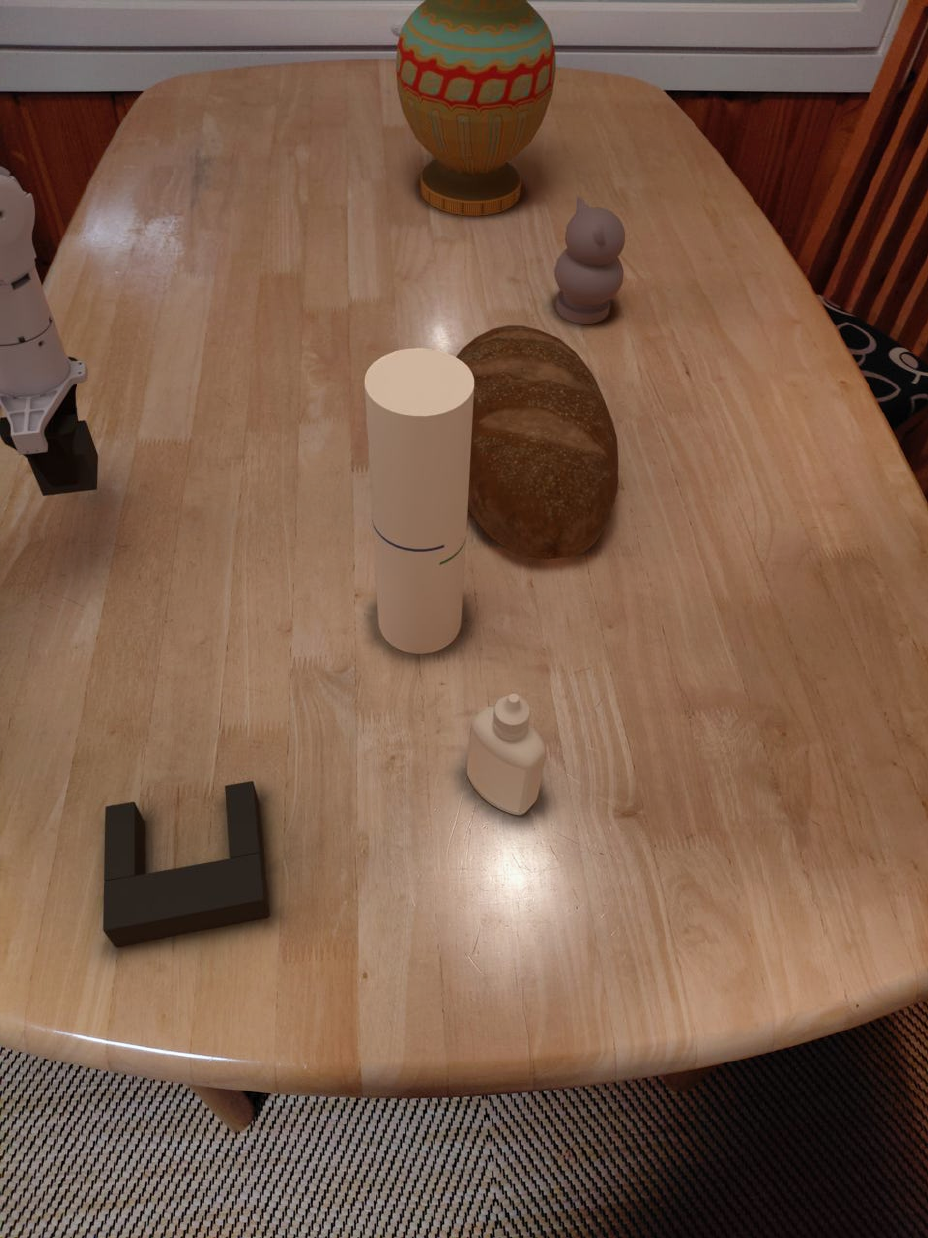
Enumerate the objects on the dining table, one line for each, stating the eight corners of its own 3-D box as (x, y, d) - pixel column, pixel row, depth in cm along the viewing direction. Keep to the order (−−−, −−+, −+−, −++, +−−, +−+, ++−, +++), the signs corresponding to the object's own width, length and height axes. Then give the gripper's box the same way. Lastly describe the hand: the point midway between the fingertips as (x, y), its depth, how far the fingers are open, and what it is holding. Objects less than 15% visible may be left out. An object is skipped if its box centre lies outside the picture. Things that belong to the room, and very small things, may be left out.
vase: (546, 163, 134) (572, -93, 110) (538, 234, 121) (566, -37, 98) (409, 151, 134) (406, -105, 111) (387, 220, 122) (379, -52, 99)
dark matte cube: (42, 496, 78) (27, 460, 75) (45, 461, 81) (30, 425, 78) (97, 489, 79) (84, 453, 76) (98, 455, 82) (85, 419, 78)
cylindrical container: (369, 598, 81) (353, 357, 62) (447, 581, 83) (455, 341, 63) (390, 662, 77) (379, 424, 58) (472, 643, 79) (488, 405, 59)
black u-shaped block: (114, 947, 62) (102, 931, 59) (116, 825, 67) (105, 806, 65) (269, 917, 63) (264, 899, 61) (258, 800, 69) (253, 780, 67)
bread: (469, 578, 83) (475, 484, 74) (427, 377, 101) (428, 282, 92) (637, 563, 85) (662, 469, 76) (567, 368, 103) (581, 275, 94)
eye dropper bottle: (487, 828, 68) (498, 742, 59) (461, 764, 71) (467, 673, 62) (542, 810, 69) (561, 723, 60) (514, 748, 72) (528, 656, 63)
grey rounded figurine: (627, 324, 109) (647, 227, 100) (564, 333, 107) (578, 235, 98) (600, 285, 114) (617, 188, 105) (540, 293, 112) (551, 196, 103)
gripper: (65, 377, 64) (114, 517, 75) (72, 265, 73) (115, 404, 84) (-44, 388, 63) (22, 528, 74) (-23, 273, 72) (33, 413, 83)
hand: (66, 463), depth 79 cm, fingers closed on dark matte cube, 4 cm apart
